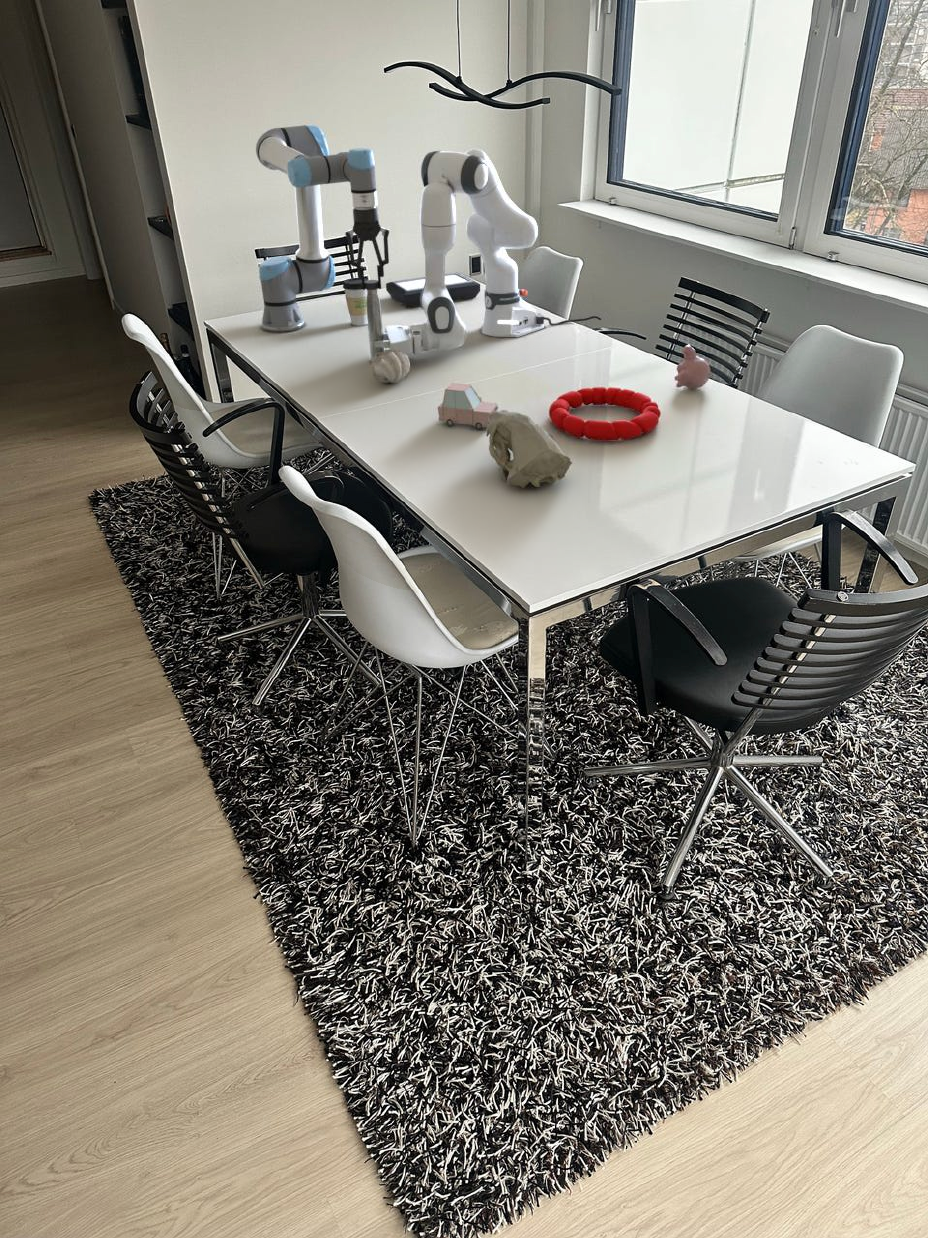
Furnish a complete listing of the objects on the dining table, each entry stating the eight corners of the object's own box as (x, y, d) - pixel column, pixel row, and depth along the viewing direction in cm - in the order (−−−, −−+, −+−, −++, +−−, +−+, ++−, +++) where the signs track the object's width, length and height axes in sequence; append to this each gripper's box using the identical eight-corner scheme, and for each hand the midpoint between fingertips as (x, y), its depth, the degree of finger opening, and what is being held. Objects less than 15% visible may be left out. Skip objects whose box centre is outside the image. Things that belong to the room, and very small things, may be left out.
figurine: (665, 387, 264) (669, 347, 257) (693, 380, 268) (698, 340, 261) (686, 396, 257) (690, 355, 250) (714, 388, 262) (720, 348, 255)
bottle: (385, 362, 290) (379, 285, 276) (372, 364, 289) (365, 286, 275) (383, 358, 294) (377, 281, 280) (370, 359, 293) (363, 282, 279)
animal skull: (496, 517, 219) (521, 479, 201) (463, 429, 225) (484, 384, 207) (557, 503, 225) (586, 465, 206) (523, 417, 231) (549, 373, 212)
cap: (376, 285, 281) (375, 278, 280) (381, 288, 277) (380, 281, 276) (362, 287, 279) (362, 280, 278) (367, 290, 276) (367, 283, 275)
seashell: (364, 381, 275) (361, 349, 270) (407, 372, 281) (405, 341, 275) (377, 391, 268) (374, 358, 262) (421, 382, 273) (420, 349, 268)
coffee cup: (372, 326, 323) (368, 283, 314) (345, 327, 323) (340, 284, 315) (374, 318, 331) (371, 276, 322) (348, 319, 331) (344, 277, 323)
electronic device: (403, 292, 336) (385, 281, 351) (404, 309, 340) (386, 297, 355) (480, 281, 346) (459, 270, 361) (480, 298, 350) (459, 286, 365)
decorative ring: (589, 435, 224) (684, 402, 234) (527, 398, 247) (617, 369, 256) (589, 461, 229) (683, 427, 238) (529, 422, 251) (617, 393, 260)
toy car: (488, 432, 240) (488, 396, 234) (436, 426, 244) (434, 390, 239) (499, 419, 247) (499, 384, 241) (448, 413, 252) (447, 379, 246)
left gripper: (335, 211, 261) (344, 292, 275) (394, 207, 263) (400, 289, 276) (335, 206, 268) (343, 286, 281) (393, 203, 269) (399, 283, 282)
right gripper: (411, 319, 296) (370, 322, 294) (419, 337, 279) (375, 340, 278) (412, 338, 300) (371, 341, 298) (420, 357, 283) (377, 360, 281)
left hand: (371, 288), depth 278 cm, fingers closed on cap, 4 cm apart
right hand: (373, 341), depth 288 cm, fingers closed on bottle, 4 cm apart
